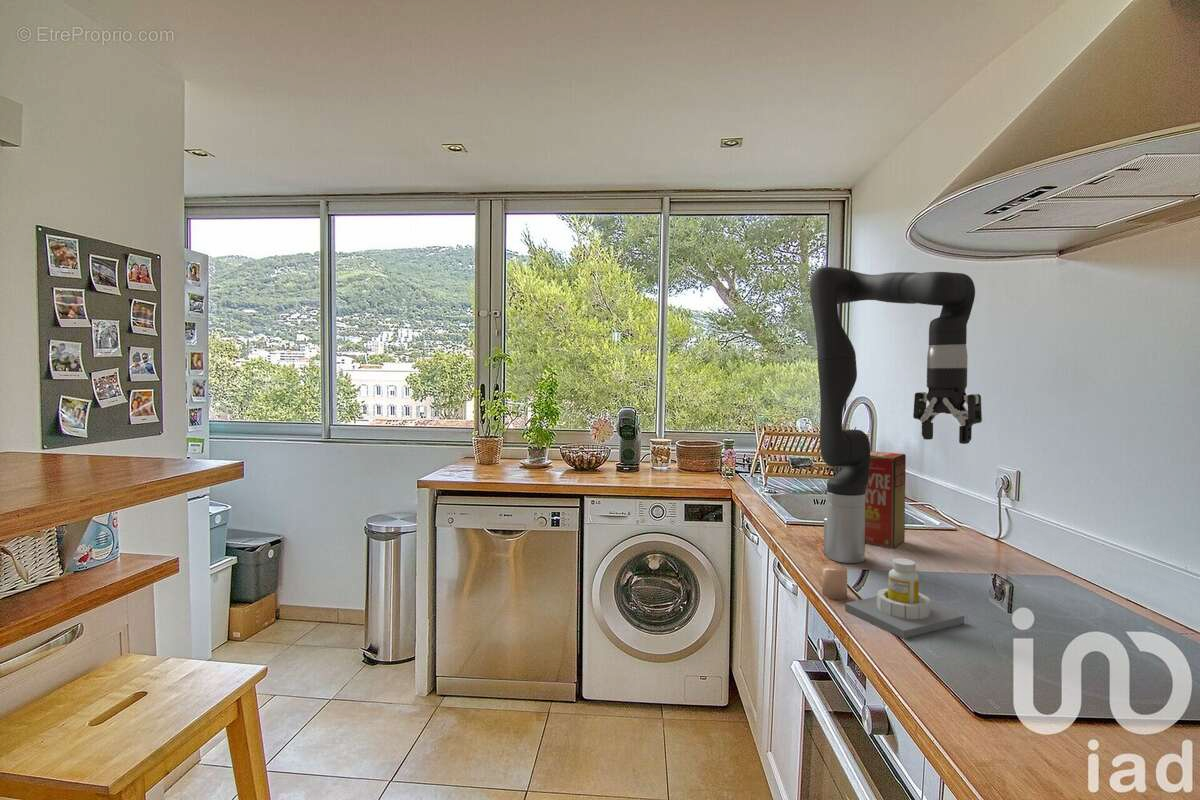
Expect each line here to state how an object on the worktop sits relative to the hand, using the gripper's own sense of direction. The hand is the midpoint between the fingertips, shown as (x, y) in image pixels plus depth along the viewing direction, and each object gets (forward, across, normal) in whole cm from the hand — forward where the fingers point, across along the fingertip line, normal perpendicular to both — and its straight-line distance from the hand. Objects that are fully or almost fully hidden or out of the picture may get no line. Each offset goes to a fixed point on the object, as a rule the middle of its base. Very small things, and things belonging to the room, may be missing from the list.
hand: (945, 441), depth 129 cm
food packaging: (+33, +34, -17) cm, 51 cm away
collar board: (+33, -6, +19) cm, 39 cm away
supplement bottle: (+32, -6, +19) cm, 38 cm away
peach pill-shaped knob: (+33, +8, +23) cm, 41 cm away
